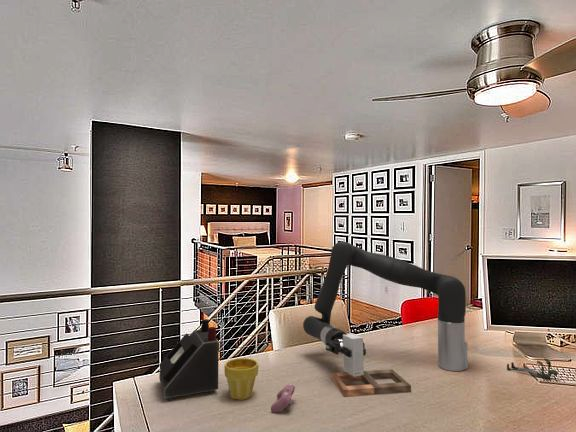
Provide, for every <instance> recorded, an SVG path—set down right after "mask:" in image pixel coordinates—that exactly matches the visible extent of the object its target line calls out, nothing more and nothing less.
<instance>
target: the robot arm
mask: <svg viewBox="0 0 576 432" xmlns="http://www.w3.org/2000/svg"><path fill="white" fill-rule="evenodd" d="M348 266H351V267H355V268H360V269H363V270H365V271H367V272H369V273H371V274H373V275H375V276H377V277H378V278H381V279H383V280H386V281H389V282H392V283H394V284H397V285H402V286H407V287H411V288H419V289H422V290H425V291H428V292H431V293H432V294H434V295H436V296H438V304H437V305H438V306H437V307H438V308H437V309H438V310H437V361H438V362H437V364H438V367H439V368H440V369H443V370H446V371H451V372H461V371H465V370H467V369H468V362H469V361H468V342H467V341H466V338H465V337H466V335H465V333H466V331H465V330H466V329H465V326H466V325H465V317H466V310H467V309H466V306H467V305H466V302H467V300H466V298H467V297H466V296H467V295H466V288H465V285H464V284H463V282H462V281H461V280H460V279H458V278H457V277H455V276H452V275H446V274H442V273H438V272H434V271H430V270H427V269H425V268H422V267H420V266H418V265H415V264H413V263H410V262H407V261H406V260H401V259H399V258H396V257H393V256H389V255H385V254H380V253H376V252H375V253H374V252H370V251H368V250H365V249H362V248H361V247H357V246H356V245H353V244H352V243H350V242H347V241H339V242H336V243H335V244H334V245H333V246H332V247H331V252H330V257H329V264H328V268H327V270H326V273H325V277H324V280H323V283H322V285H321V288H320V291H319V293H318V295H317V298H316V301H315V303H314V310H315V311H316V312H318V313H320V314H321V318H320V317H317V316H313V315H310V316H309V315H308V316H307V317H306V318H304V320H303V323H302V324H303V325H302V326H303V327H302V329H303V331H304V332H305V333H306V334H307V335H309V336H312V337H313V338H316V339H318V340H319V341H320V342H321V343H323V344H324V345H325V350H326V351H328V352H329V353H333V354H334V355H339V354H341V355H343V354H344V355H345V356H347V357H351V350H349V349H348V348H346V347H345V346H343V335H344V334H347V332H345V331H343V330H342V329H340V328H339V327H337V326H334V325H332V324H331V319H332V318H331V317H332V311H333V307H334V306H335V305H334V304H335V302H336V299H337V296H338V294H339V290H340V289H339V288H340V285H341V282H342V278H343V276H344V273H345V271H346V269H347V267H348ZM365 344H366V343H365V342H364V341H363V357H364V356H366V354H367V349H366V348H365V346H366V345H365Z"/></svg>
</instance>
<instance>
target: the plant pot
mask: <svg viewBox="0 0 576 432" xmlns="http://www.w3.org/2000/svg"><path fill="white" fill-rule="evenodd" d="M258 373H259V362H258V361H257V360H256V359H253V358H249V357H237V358H233V359H230V360H227V361H226V362H225V364H224V376H225V378H226V379H227V385H228V389H229V394H230V397H231V398H232V399H234V400H237V401H238V400H239V401H241V400H247V399H249V398H250V397H251V396H252V395H253V391H254V386H255V381H256V377H257V376H258Z"/></svg>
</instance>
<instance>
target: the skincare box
mask: <svg viewBox="0 0 576 432" xmlns="http://www.w3.org/2000/svg"><path fill="white" fill-rule="evenodd" d="M363 342H364V337H362V336H359V335H358V334H355V333H346V334H344V335H343V346H345V347H346V348H348V349H349V350H351V357H347V356H345V355H344V354H342V357H343V358H342V360H343V371H344V372H347V373H349V374H350V375H352V376H354V377H355V376H361V375H363V374H364V371H365V370H364V367H365V366H364V365H365V363H364V356H363Z"/></svg>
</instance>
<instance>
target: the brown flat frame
mask: <svg viewBox="0 0 576 432" xmlns="http://www.w3.org/2000/svg"><path fill="white" fill-rule="evenodd" d="M388 379H391V380H393V381H394V382H388V383H387V382H386V383H378V382H377V381H376V380H388ZM331 380H332V381H333V383H334V385H335V386H336V387H337V389H338V390H339V392H340V393H341V394H343V395H342V396H343V397H356V396H371V395H383V394H384V395H385V394H398V393H411V392H412V385H411V384H410V383H409V382H407V380H406V379H404V378H403V377H402V376H401V375H400V374H398V373H397V372H396V371H395V370H394V369H376V370H364V374H363V375H361V376H355V377H354V376H352V375H350V374H349V373H347V372H345V371H344V372H342V371H341V372H332V373H331ZM354 381H355V382H356V381H358V382H359V381H362V383H363V384H356V385H346V384H345V383H344V382H354Z"/></svg>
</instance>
